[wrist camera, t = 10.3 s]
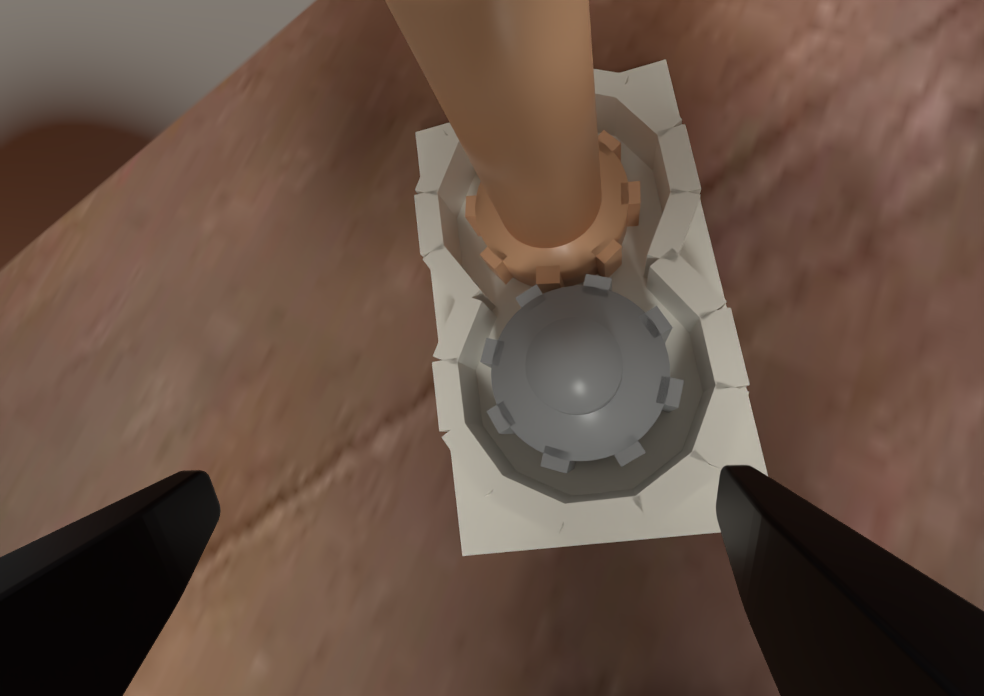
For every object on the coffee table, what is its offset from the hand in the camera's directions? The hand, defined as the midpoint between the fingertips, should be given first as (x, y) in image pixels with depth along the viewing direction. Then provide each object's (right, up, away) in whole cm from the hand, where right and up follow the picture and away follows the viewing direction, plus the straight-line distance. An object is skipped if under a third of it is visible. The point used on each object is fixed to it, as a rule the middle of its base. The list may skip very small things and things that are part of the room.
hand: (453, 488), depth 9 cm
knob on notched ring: (+3, +8, +12) cm, 15 cm away
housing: (+4, +4, +13) cm, 14 cm away
